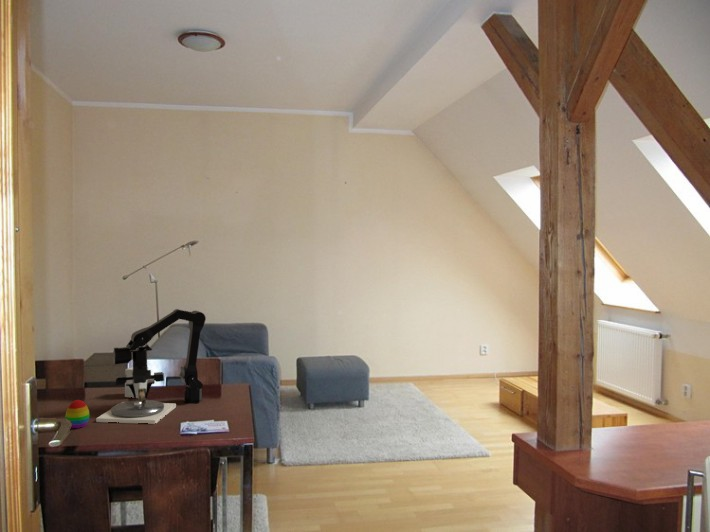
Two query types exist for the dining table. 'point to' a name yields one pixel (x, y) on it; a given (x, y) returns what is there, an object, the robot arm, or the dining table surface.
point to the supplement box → (137, 386)
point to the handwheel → (138, 406)
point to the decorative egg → (77, 414)
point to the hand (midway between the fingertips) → (140, 398)
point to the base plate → (145, 419)
